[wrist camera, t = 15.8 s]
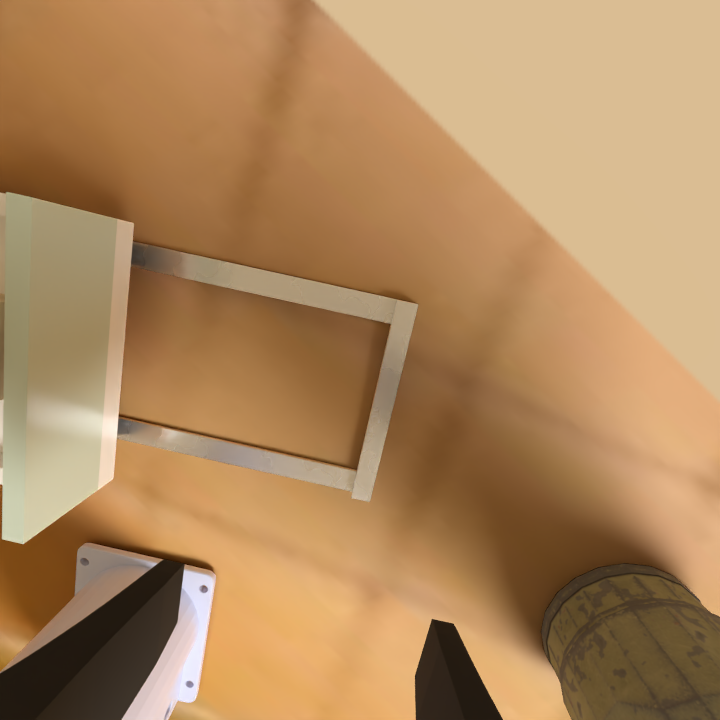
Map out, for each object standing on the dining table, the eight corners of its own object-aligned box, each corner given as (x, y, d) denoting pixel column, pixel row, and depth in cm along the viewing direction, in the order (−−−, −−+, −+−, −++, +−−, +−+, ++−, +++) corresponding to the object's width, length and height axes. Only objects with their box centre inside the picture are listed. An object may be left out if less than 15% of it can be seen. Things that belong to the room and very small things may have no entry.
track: (370, 493, 20) (369, 502, 19) (-94, 389, 20) (-113, 393, 19) (416, 303, 18) (418, 304, 17) (-103, 189, 18) (-125, 185, 17)
